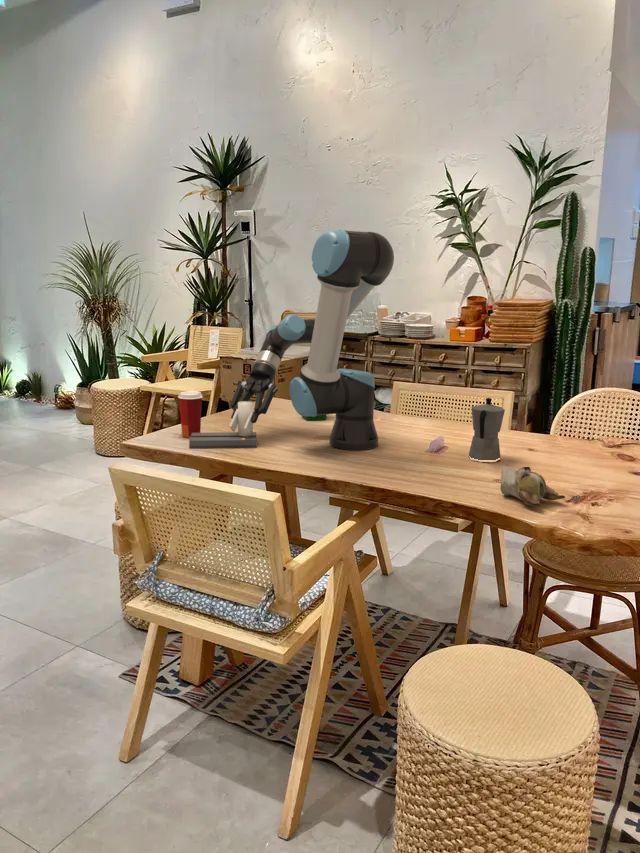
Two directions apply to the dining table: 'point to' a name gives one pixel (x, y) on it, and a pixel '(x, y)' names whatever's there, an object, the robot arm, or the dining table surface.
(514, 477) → the ceramic sculpture
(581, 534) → the dining table surface
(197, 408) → the paper cup
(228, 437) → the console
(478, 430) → the coffeepot
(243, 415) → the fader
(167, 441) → the dining table surface
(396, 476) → the dining table surface
